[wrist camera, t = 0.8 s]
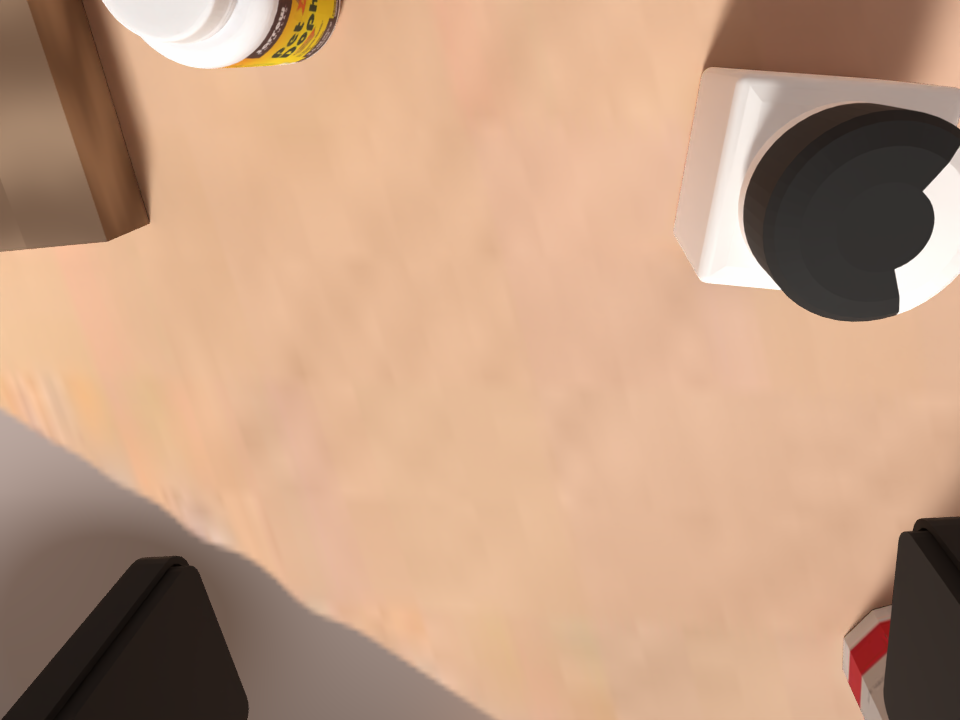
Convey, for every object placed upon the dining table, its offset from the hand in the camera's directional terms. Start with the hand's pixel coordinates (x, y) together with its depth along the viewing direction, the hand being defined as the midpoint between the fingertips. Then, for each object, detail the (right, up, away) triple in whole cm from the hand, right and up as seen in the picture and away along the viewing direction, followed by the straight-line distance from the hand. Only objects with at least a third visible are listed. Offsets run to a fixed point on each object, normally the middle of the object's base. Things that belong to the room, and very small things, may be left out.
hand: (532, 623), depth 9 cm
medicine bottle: (+12, +12, +21) cm, 27 cm away
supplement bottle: (-9, +19, +20) cm, 29 cm away
